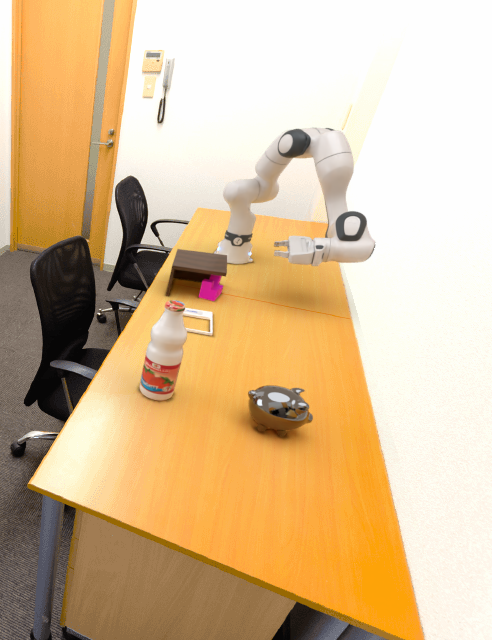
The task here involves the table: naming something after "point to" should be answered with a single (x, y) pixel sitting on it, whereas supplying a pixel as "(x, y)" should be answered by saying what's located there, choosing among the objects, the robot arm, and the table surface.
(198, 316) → the photo frame
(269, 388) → the piggy bank
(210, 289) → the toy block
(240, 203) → the robot arm
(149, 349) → the fruit juice
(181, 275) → the shelf
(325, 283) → the table surface
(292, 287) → the table surface
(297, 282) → the table surface
